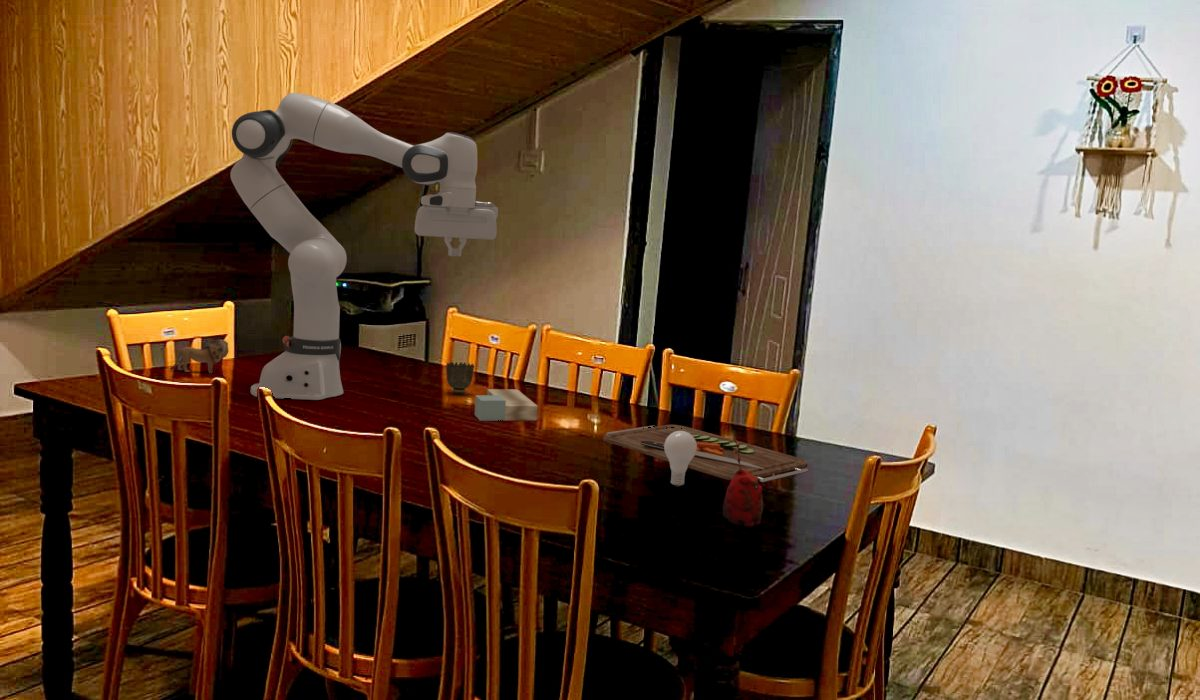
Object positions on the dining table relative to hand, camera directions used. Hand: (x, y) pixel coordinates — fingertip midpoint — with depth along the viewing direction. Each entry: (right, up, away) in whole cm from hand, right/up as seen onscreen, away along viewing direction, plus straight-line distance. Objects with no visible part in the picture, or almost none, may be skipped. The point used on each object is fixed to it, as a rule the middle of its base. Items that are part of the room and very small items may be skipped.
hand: (454, 256), depth 258 cm
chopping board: (+59, -47, -27) cm, 80 cm away
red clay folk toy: (+61, -54, -75) cm, 111 cm away
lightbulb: (+51, -50, -56) cm, 91 cm away
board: (+14, -39, 0) cm, 41 cm away
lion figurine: (-71, -30, +20) cm, 80 cm away
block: (+10, -40, -9) cm, 42 cm away
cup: (-1, -35, +17) cm, 39 cm away
